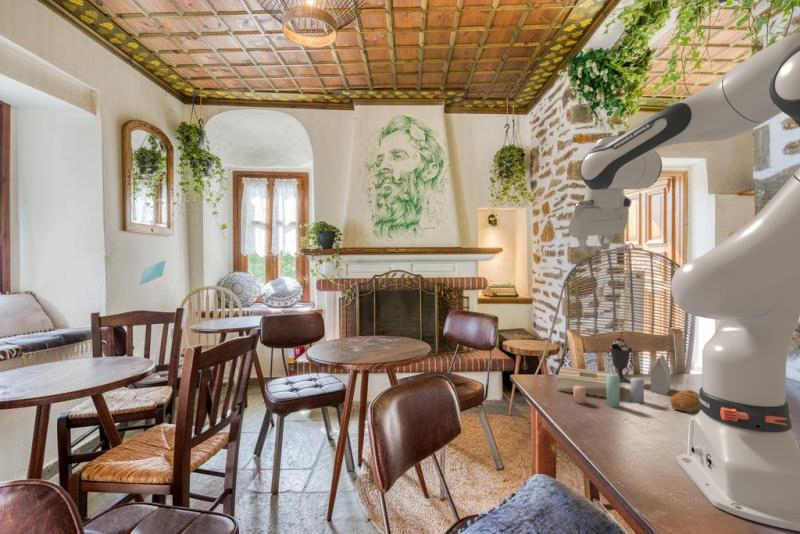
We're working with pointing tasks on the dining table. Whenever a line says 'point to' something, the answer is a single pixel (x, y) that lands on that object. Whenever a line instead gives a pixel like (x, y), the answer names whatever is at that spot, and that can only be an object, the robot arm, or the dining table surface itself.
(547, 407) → the dining table surface
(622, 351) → the sundae
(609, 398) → the long dowel
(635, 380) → the medium dowel
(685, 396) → the pastry
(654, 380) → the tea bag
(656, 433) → the dining table surface
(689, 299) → the robot arm
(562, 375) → the hole block
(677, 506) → the dining table surface
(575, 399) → the short dowel
